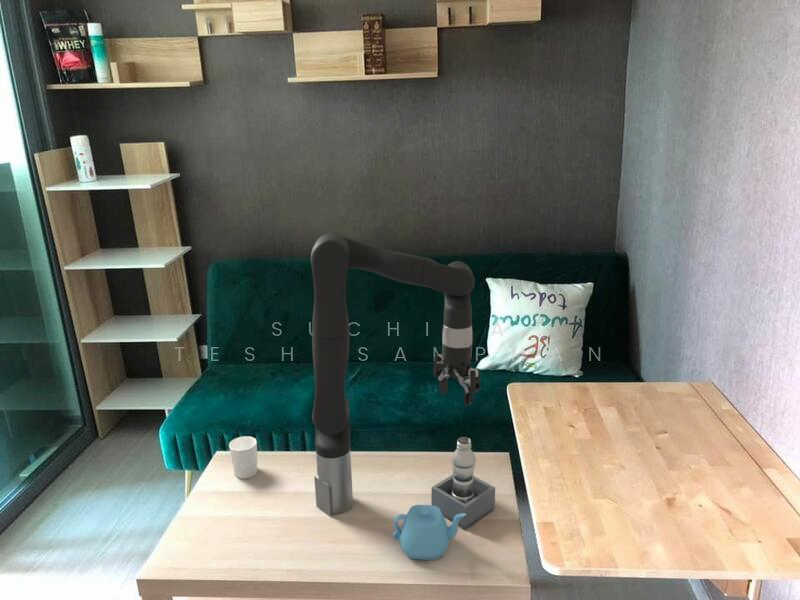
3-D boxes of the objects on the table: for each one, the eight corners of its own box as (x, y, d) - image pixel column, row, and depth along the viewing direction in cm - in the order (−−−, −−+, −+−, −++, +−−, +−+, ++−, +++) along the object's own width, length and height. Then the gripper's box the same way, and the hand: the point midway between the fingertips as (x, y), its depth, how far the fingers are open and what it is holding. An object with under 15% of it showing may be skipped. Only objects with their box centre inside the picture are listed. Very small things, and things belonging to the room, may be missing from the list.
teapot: (466, 528, 147) (389, 525, 149) (465, 566, 151) (390, 562, 152) (465, 495, 159) (394, 492, 161) (465, 531, 162) (395, 527, 164)
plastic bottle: (477, 501, 172) (479, 436, 166) (471, 516, 166) (473, 449, 160) (454, 496, 174) (455, 432, 168) (447, 511, 168) (448, 445, 162)
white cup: (238, 464, 193) (235, 435, 190) (263, 465, 192) (260, 436, 189) (228, 479, 186) (224, 449, 183) (254, 481, 185) (250, 451, 182)
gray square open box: (465, 530, 163) (465, 507, 160) (431, 509, 171) (431, 487, 169) (494, 509, 170) (495, 487, 168) (461, 490, 179) (461, 469, 176)
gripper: (426, 337, 162) (426, 394, 167) (468, 353, 152) (466, 413, 157) (447, 329, 167) (446, 385, 172) (488, 345, 157) (486, 403, 162)
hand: (455, 398), depth 164 cm, fingers open, 8 cm apart
